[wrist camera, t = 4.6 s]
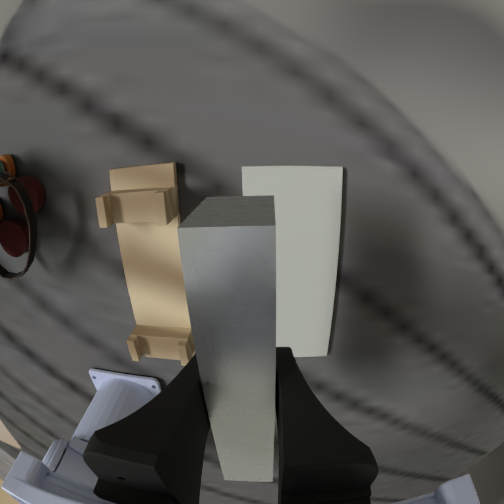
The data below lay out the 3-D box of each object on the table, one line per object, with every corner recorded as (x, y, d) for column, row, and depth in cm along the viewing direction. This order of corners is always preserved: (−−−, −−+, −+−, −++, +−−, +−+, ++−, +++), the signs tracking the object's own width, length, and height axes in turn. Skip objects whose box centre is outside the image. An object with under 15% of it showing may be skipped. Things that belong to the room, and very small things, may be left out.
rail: (273, 428, 17) (272, 481, 13) (231, 427, 17) (224, 479, 13) (273, 195, 12) (275, 226, 8) (206, 197, 12) (177, 227, 8)
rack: (198, 356, 25) (191, 379, 22) (147, 352, 25) (137, 373, 23) (175, 162, 19) (161, 166, 17) (113, 168, 20) (92, 174, 17)
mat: (326, 352, 24) (326, 355, 24) (249, 354, 25) (249, 357, 24) (341, 166, 19) (342, 167, 18) (242, 166, 19) (241, 166, 19)
